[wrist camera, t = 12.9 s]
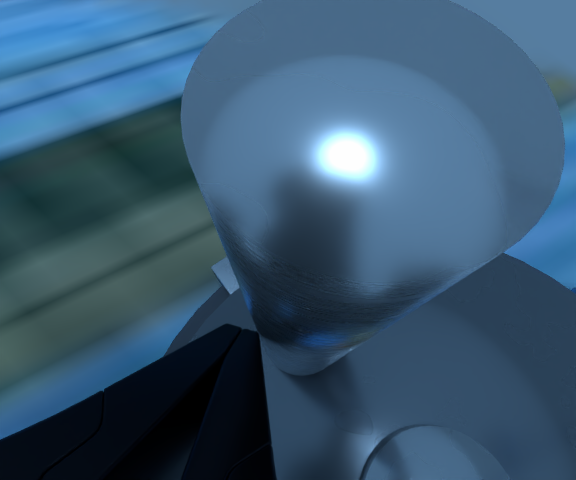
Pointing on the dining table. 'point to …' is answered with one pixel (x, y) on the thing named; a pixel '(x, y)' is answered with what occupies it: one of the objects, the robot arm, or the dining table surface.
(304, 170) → the sprocket
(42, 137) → the dining table surface
